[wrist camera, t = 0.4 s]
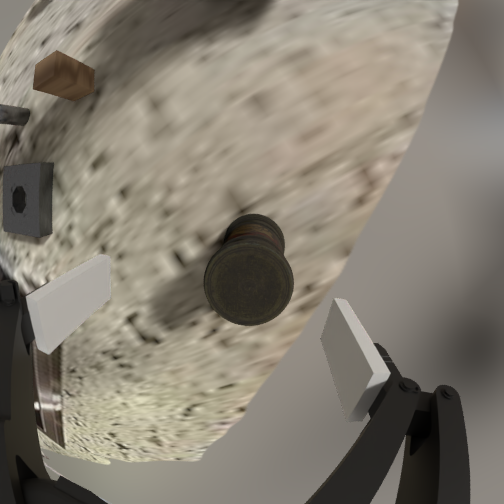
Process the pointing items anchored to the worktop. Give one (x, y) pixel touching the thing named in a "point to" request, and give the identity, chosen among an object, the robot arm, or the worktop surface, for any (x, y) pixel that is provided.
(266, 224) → the container
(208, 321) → the worktop surface
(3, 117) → the round bit
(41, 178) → the holder plate
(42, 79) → the square bit
